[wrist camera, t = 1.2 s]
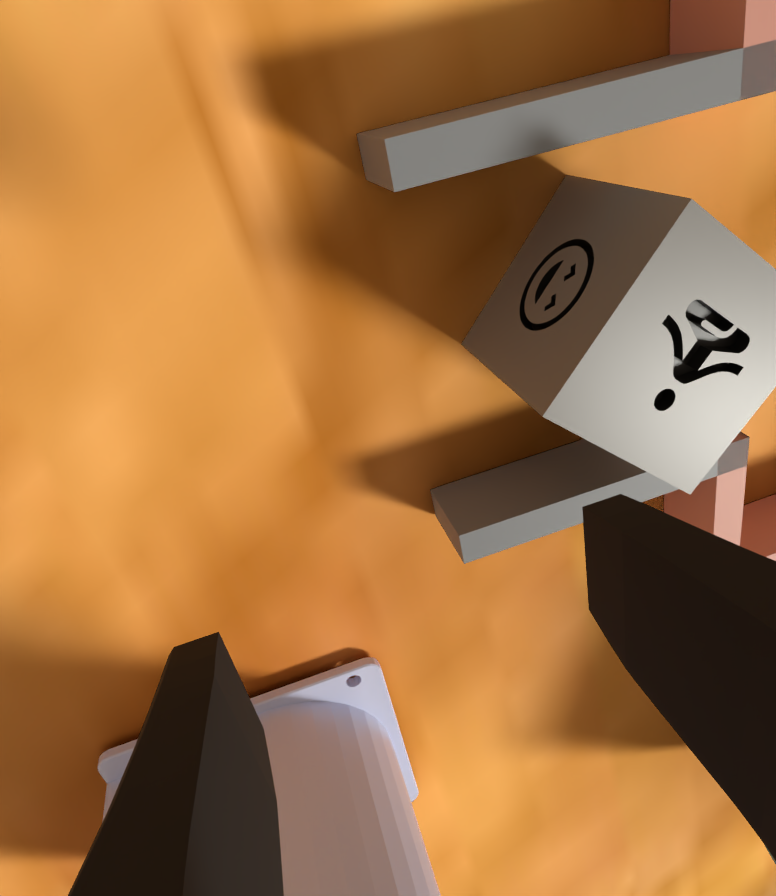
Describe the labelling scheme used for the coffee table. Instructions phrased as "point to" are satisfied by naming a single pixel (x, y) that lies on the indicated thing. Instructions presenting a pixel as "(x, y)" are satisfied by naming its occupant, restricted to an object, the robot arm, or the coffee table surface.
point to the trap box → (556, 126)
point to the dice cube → (635, 327)
